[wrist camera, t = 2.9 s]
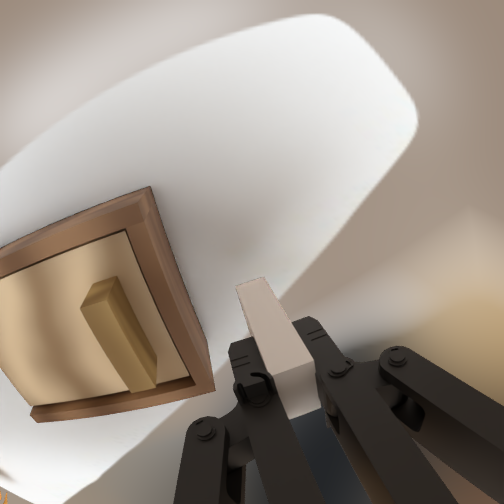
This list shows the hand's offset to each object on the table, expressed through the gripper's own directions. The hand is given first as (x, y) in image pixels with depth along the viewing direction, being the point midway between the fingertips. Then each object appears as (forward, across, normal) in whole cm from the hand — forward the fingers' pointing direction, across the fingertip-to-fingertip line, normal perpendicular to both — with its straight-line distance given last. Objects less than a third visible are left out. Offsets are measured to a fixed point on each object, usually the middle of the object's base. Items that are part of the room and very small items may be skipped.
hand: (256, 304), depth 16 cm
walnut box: (+7, -12, 0) cm, 14 cm away
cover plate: (+3, -13, 0) cm, 13 cm away
